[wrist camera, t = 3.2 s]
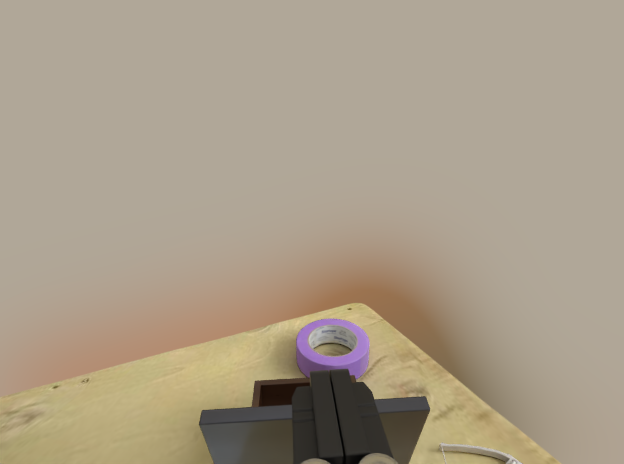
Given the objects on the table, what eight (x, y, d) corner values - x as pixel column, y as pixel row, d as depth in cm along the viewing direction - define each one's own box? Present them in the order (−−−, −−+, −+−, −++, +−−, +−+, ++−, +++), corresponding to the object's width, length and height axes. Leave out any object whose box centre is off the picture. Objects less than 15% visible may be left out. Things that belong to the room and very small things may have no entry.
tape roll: (377, 381, 52) (378, 360, 50) (299, 388, 50) (298, 367, 49) (358, 334, 62) (359, 316, 61) (294, 339, 61) (294, 320, 60)
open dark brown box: (258, 421, 45) (254, 380, 43) (353, 415, 46) (354, 374, 44) (243, 571, 31) (237, 521, 28) (383, 559, 31) (388, 508, 29)
